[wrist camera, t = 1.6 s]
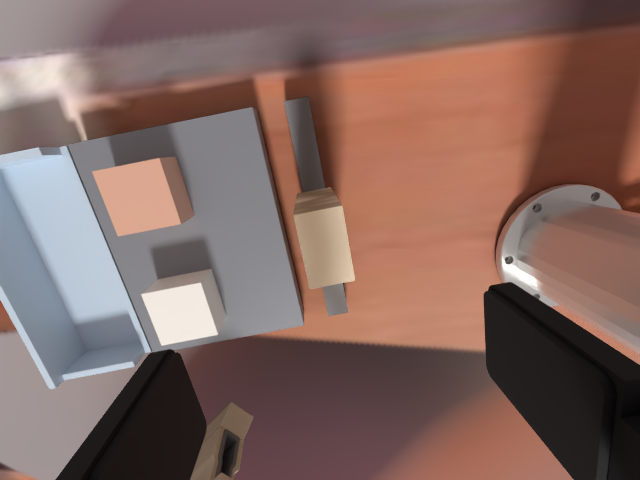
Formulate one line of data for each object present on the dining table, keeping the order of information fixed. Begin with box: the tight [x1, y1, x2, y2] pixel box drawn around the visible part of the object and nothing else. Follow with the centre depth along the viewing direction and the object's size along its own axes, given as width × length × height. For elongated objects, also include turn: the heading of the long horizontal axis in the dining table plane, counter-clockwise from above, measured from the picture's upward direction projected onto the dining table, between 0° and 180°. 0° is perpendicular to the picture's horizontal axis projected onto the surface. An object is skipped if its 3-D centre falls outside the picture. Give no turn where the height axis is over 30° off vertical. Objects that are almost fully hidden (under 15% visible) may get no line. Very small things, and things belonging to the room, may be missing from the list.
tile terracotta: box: [92, 157, 195, 237], centre depth 25 cm, size 5×5×3 cm
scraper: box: [284, 97, 355, 316], centre depth 25 cm, size 3×20×11 cm, turn 11°
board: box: [68, 107, 304, 352], centre depth 29 cm, size 15×20×2 cm
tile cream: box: [141, 269, 227, 346], centre depth 28 cm, size 5×5×3 cm
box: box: [0, 146, 152, 389], centre depth 28 cm, size 8×20×5 cm, turn 11°
